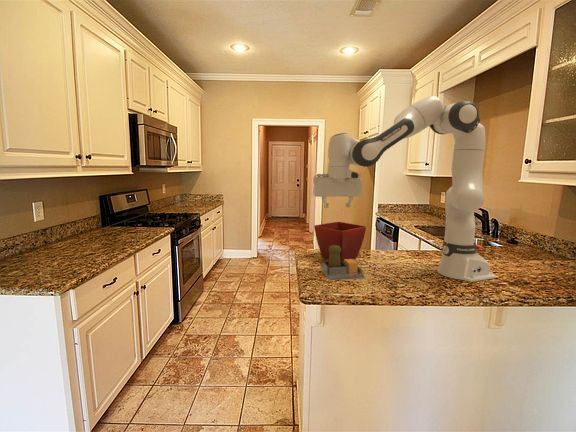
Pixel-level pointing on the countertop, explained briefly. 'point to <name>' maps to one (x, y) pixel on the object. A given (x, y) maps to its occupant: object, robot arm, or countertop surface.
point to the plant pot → (340, 238)
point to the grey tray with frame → (340, 271)
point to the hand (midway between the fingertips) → (337, 207)
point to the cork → (334, 256)
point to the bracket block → (351, 265)
